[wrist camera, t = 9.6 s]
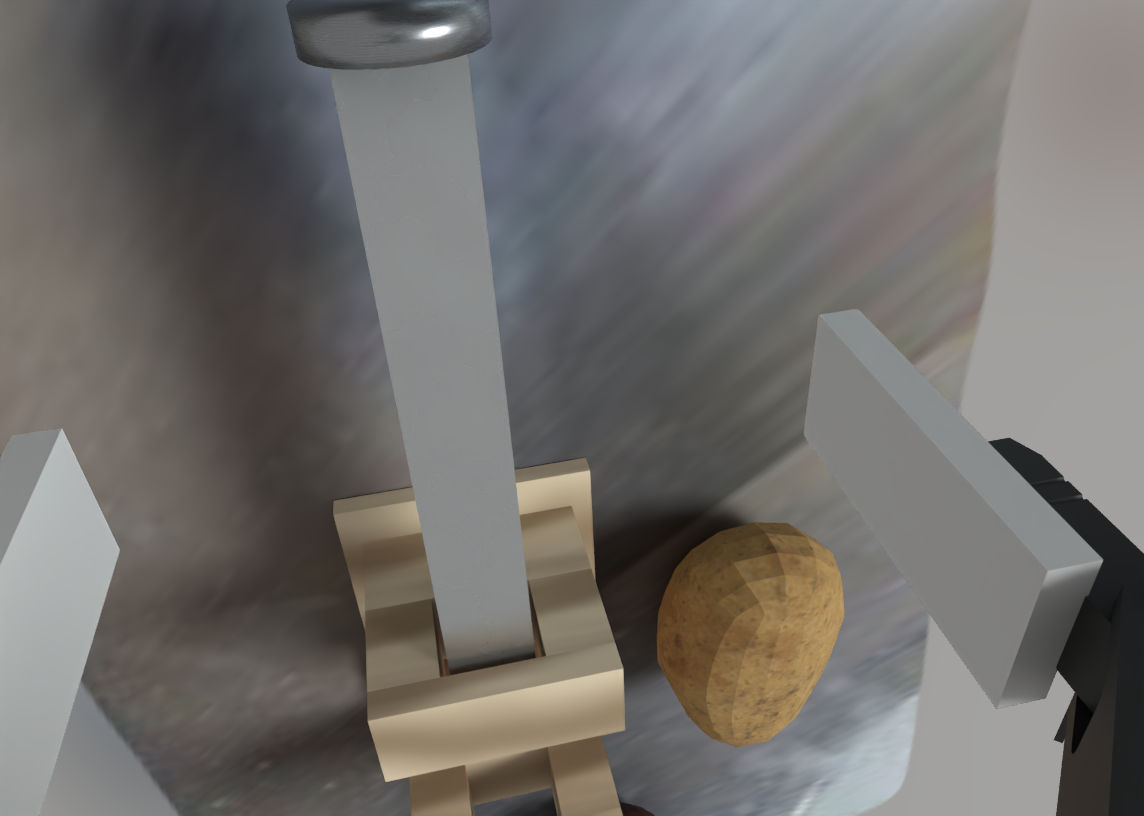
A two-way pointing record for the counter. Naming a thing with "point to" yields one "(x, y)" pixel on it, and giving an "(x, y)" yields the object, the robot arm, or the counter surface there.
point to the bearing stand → (497, 694)
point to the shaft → (433, 294)
